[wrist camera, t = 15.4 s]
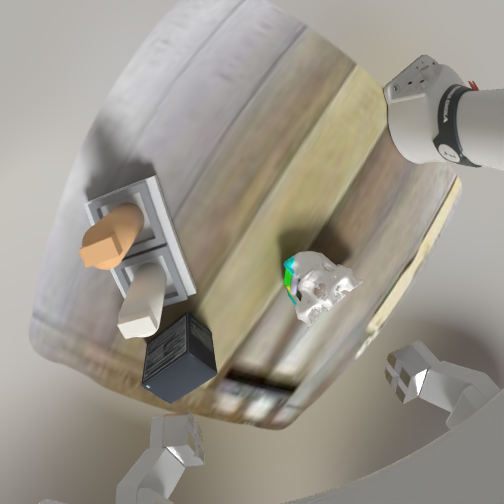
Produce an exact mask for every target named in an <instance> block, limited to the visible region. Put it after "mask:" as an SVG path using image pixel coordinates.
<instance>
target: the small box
mask: <svg viewBox="0 0 504 504" xmlns="http://www.w3.org/2000/svg"><path fill="white" fill-rule="evenodd" d="M217 374H218V373H217V368H216V361H215V354H214V347H213V340H212V333H211V332H210V331H209V330H208V329H207V328H206V327H205V326H204V325H202V324H201V323H200V322H199V321H198V320H197V319H196V318H194V317H193V316H192V315H191V314H190V313H189V312H187V313H185V314H184V315H183V316H181V317H180V318H179V319H178V320H176V321H175V322H174V323H172V324H171V325H170V326H169V327H168V328H166V329H165V330H164V331H163V332H161V333H160V334H159V335H157V336H156V337H155V338H154V339H152V340H151V341H150V342H149V343H147V348H146V356H145V364H144V370H143V378H142V385H141V386H142V387H143V388H145V389H146V390H148V391H149V392H151V393H152V394H154V395H156V396H157V397H159V398H161V399H162V400H164V401H166V402H167V403H169V404H172V403H173V402H175V401H176V400H178V399H180V398H181V397H183V396H184V395H186V394H188V393H189V392H191V391H192V390H194V389H196V388H197V387H199V386H200V385H202V384H203V383H205V382H207V381H208V380H210V379H211V378H213V377H214V376H216V375H217Z"/></svg>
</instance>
